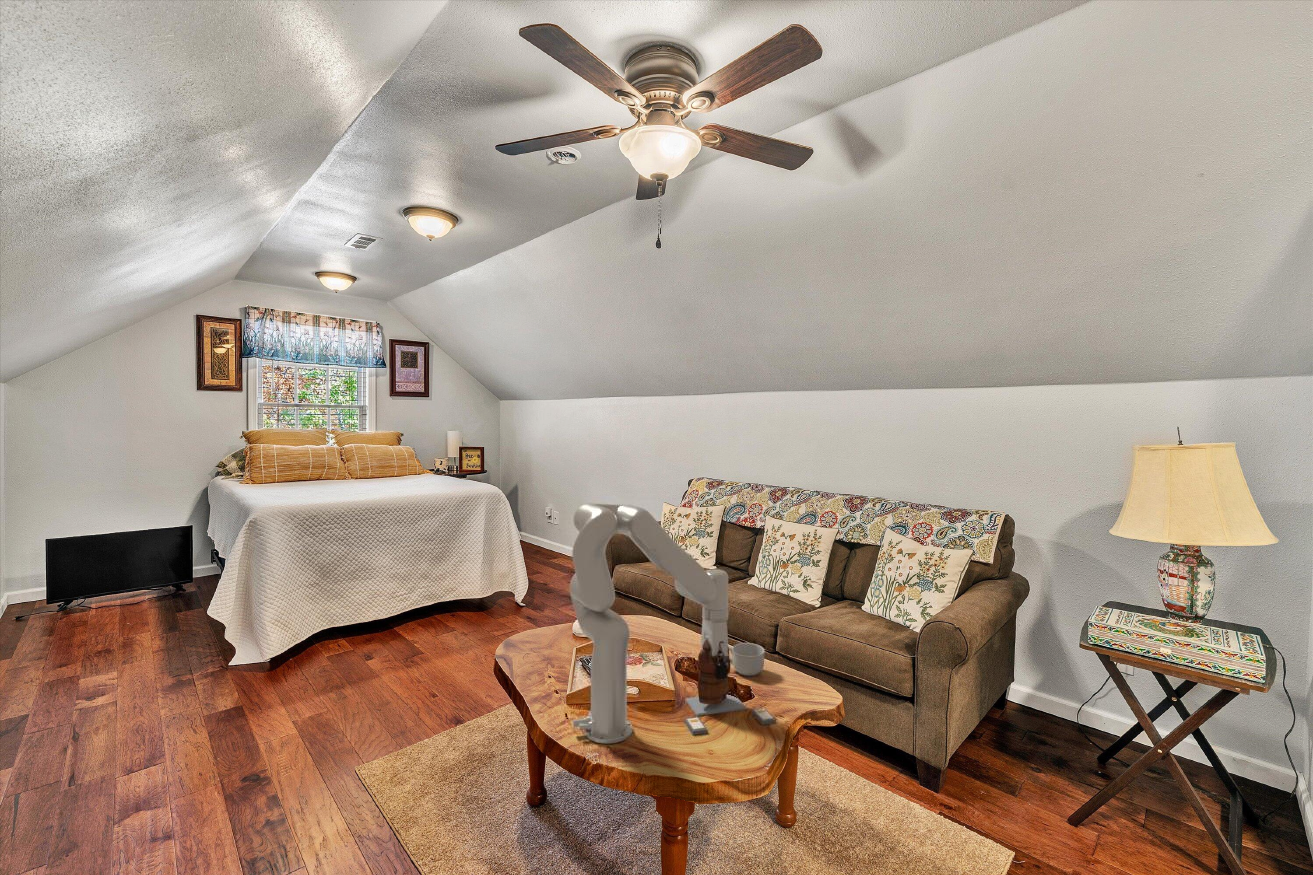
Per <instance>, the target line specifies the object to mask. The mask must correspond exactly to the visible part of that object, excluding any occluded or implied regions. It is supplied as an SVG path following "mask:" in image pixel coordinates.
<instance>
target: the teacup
mask: <svg viewBox="0 0 1313 875" xmlns="http://www.w3.org/2000/svg"><path fill="white" fill-rule="evenodd" d="M728 647H729V652H730V654H731V656H732V657H730V656H729V660H730V665H732V666H733V669H735V671H736V672H737V673H738V674H740V675H742V676H745V677H753V676H756V675H758V674H759V673H760V672H762V671H763V670H764V667H765V652H766V650H765V649H764V647H763V646H761V645H759V644H757V643H752V642H740V643H737V644H735V645H733V646H732V647H731V646H729V645H728Z"/></svg>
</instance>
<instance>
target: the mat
mask: <svg viewBox="0 0 1313 875" xmlns="http://www.w3.org/2000/svg"><path fill="white" fill-rule="evenodd" d="M726 696H727V698H726V699H724V700H722V702H721V703H719V704H703V703H700V702H699V696H694V697H687V698H686V697H685V702H686V703H687V705H688V706H689V707H690V709H691V710H692V712H693V713H694V714H695V715H696V716H695V717H700V716H701V717H702V716H706V715H714V714H716V715H717V714H722V713H729V712H736V711H743V710H747V707H746V705H744V704H743V702H742V701H741V700H740V699H739V698H738V697H737V696H736V697H737V698H736V697H734V696H731V695H726Z"/></svg>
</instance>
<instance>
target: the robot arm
mask: <svg viewBox="0 0 1313 875" xmlns="http://www.w3.org/2000/svg"><path fill="white" fill-rule="evenodd" d="M573 525H574V527H575V529H576V530H577V531H578V535H577V537H576V538H575V541H574V543H573V547H572V554H571V557H572V563H573V566H574V571H575V573H574V574H573V576H572V578H571V579H570V581H569V582H570V583H569V593H570V598H571V601H572V602H571V603H572V605H573V606H572V607H573V608H574V612H575V615H576V619H577V623H578V625H579V628H580V630H581V632H582V633H583V635H584V636H586V637H587V638H588V639H589V640H590V642H592V644H593V648H592V649H593V650H592V655H591V660H590V711H589V712H587V713H588V714H587V716H584V718H574V719H572V727H573V728H578V730H579V731H584V734H585V736H586V738H587V739H588V740H590V741H591V742H595V743H597V744H617V743H619V742H622V741H623V742H624V741H625V740H626V739H628V738H629V737H631V735H632V733H633V725H632V723H631V722H630V721H629V720H628V719H627V718H628V716H627V714H628V712H627V710H628V709H627V706H628V704H627V703H628V701H627V699H628V697H627V696H628V693H627V692H628V690H627V689H628V688H627V687H628V686H627V685H628V684H627V683H628V674H627V669H628V668H627V665H628V663H627V662H628V649H629V643H630V637H631V636H630V634H631V632H630V627H629V625H628V623H627V621H626V619H624V618H623V617H622V616H621V615H620V614H619V613H617V612H615V611H614V610H612V609H611V607H612V606H613V605H614V602H615V600H616V592H615V586H614V583H613V580H612V577H611V573H610V569H609V566H608V561H607V556H606V549H607V545H608V543H609V542H610V540H611V538H612V537H613V536H614V535H616V534H617V535H624V536H627V537H628V538H629V539H630V540H631V541H632V542H633V543H634V544H635V545H636V546H637V547H638V549H639V550H641V552H642V553H643V554H644V555H645V556H646V558H647V559H648V560H649V561H650V562H651V563H652V564H653V565H654V566H656V568H658V569H660V570H661V571H663V572H664V573H666V574H668V575H669V576H671V577H672V578H673V579H674V589H675V590H676V592H677V593H678V594H679V595H680V596H682V597H684V598H687V599H688V600H690V601H693V602H695V603H696V604H699V605H702V606H701V607H702V609H701V610H702V612H701V613H702V614H701V615H702V624H701V640H700V642H701V647H702V646H703V644H704V642H705V640H708V641H709V644H710V646H711V652H710V655H711V656H712V657H714V656H716V662H717V665H716V679H725V678H727V662H728V646H729V642H728V641H729V640H728V639H729V638H728V625H727V624H728V623H727V621H728V620H729V574H728V573H727V572H726V570H722V569H718V568H717V569H715V568H712V569H707V570H705V569H704V567H703V566H702V565H701V564H700V563H699V562H698V561H697V560H696V559H694V558H693V557H692V556H691V555H690V554H689V553H688V552H686V550H684V548H682V547H681V546H680V545H679V544H678V543H677V542H675V540H674V539H673V538H672V537H671V536H670V535H669V533H668V532H666V530H665V528H664V527H663V526H662V525H661V524H660V523H659V522H658V521H657V520H656V518H655V517H654V516H653V514H652V513H650V512H649V511H647V510H646V509H645V508H643V507H639V506H635V505H630V504H608V503H607V504H606V503H605V504H604V503H586V504H585V503H584V504H583V505H580V507H579V506H578V508H577V509H576V511H575V512H574V514H573ZM719 648H720V649H719ZM719 650H720V652H722V653H720V654H717V653H718V651H719ZM719 657H722V658H721V659H720V661H719Z"/></svg>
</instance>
